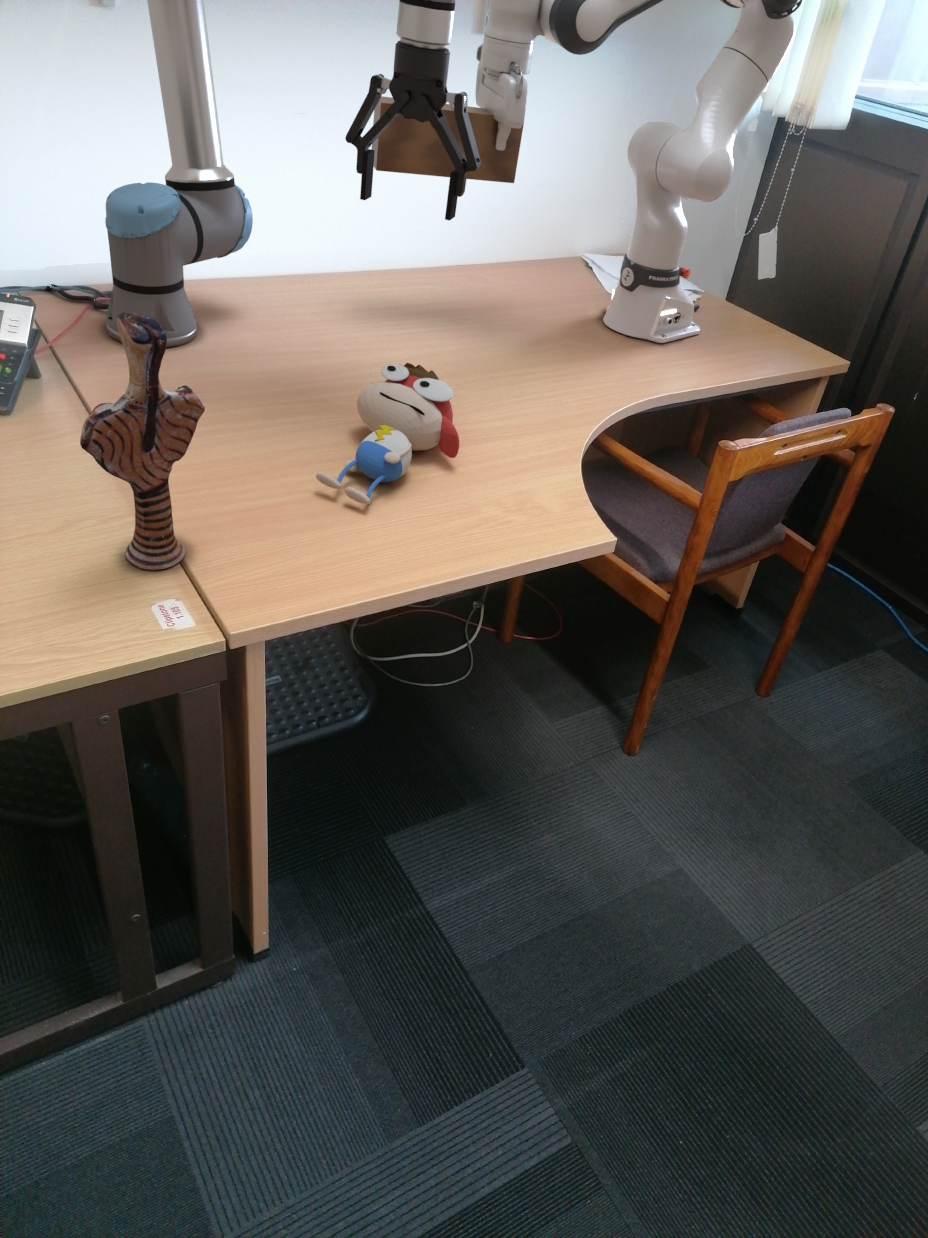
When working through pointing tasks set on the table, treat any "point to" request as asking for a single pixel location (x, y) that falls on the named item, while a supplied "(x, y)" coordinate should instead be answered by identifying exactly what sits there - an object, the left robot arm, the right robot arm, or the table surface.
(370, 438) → the toy
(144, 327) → the figurine
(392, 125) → the box
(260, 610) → the table surface
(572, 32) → the right robot arm
